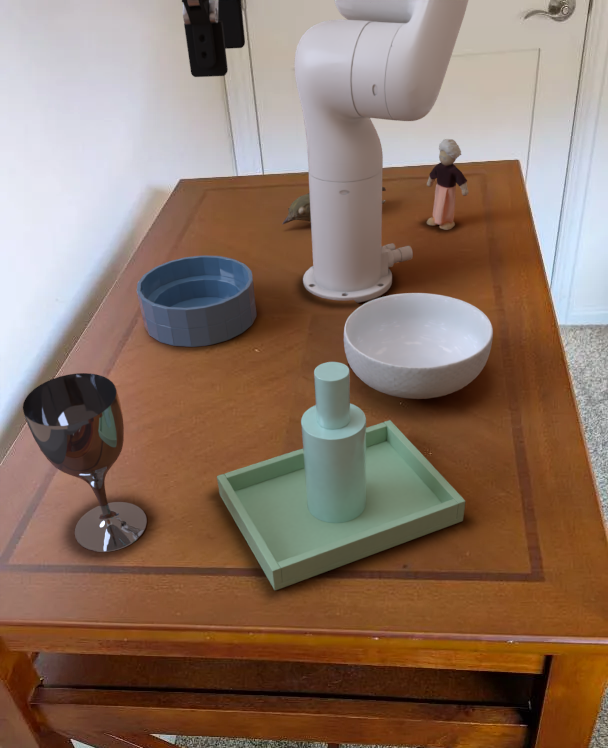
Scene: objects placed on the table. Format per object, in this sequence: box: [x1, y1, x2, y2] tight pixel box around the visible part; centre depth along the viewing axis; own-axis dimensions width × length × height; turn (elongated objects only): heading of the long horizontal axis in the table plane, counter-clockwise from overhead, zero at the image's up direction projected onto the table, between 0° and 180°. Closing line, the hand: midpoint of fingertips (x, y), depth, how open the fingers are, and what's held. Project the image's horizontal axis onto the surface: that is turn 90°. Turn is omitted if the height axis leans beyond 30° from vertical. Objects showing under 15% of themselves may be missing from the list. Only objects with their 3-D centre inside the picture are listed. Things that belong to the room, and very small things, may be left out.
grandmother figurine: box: [426, 138, 470, 231], centre depth 117 cm, size 8×4×13 cm, turn 55°
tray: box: [216, 419, 466, 591], centre depth 75 cm, size 20×15×3 cm
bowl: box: [136, 255, 258, 348], centre depth 102 cm, size 15×15×6 cm
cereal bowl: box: [343, 292, 494, 400], centre depth 89 cm, size 17×17×7 cm
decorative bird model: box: [282, 186, 387, 226], centre depth 125 cm, size 5×20×5 cm, turn 118°
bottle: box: [300, 361, 367, 523], centre depth 70 cm, size 6×6×15 cm
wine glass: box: [22, 372, 148, 553], centre depth 71 cm, size 8×8×15 cm
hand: (219, 60), depth 71 cm, fingers open, 9 cm apart
